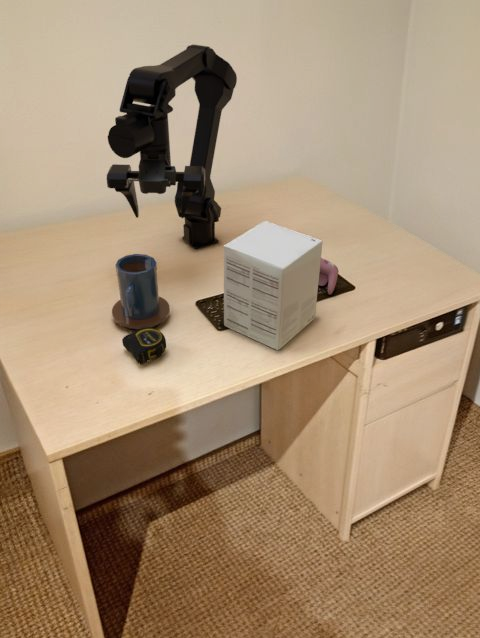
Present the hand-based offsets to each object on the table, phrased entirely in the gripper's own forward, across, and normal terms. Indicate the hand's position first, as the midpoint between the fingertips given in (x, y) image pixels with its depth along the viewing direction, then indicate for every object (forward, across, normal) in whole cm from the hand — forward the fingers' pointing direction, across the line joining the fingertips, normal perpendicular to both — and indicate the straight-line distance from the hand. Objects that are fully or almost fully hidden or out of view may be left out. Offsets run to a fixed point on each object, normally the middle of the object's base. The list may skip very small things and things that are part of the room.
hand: (160, 217), depth 125 cm
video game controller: (+13, +32, -5) cm, 35 cm away
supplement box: (+13, +22, -19) cm, 32 cm away
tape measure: (+13, -1, -29) cm, 32 cm away
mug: (+12, -3, -18) cm, 22 cm away
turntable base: (+13, -3, -17) cm, 22 cm away
